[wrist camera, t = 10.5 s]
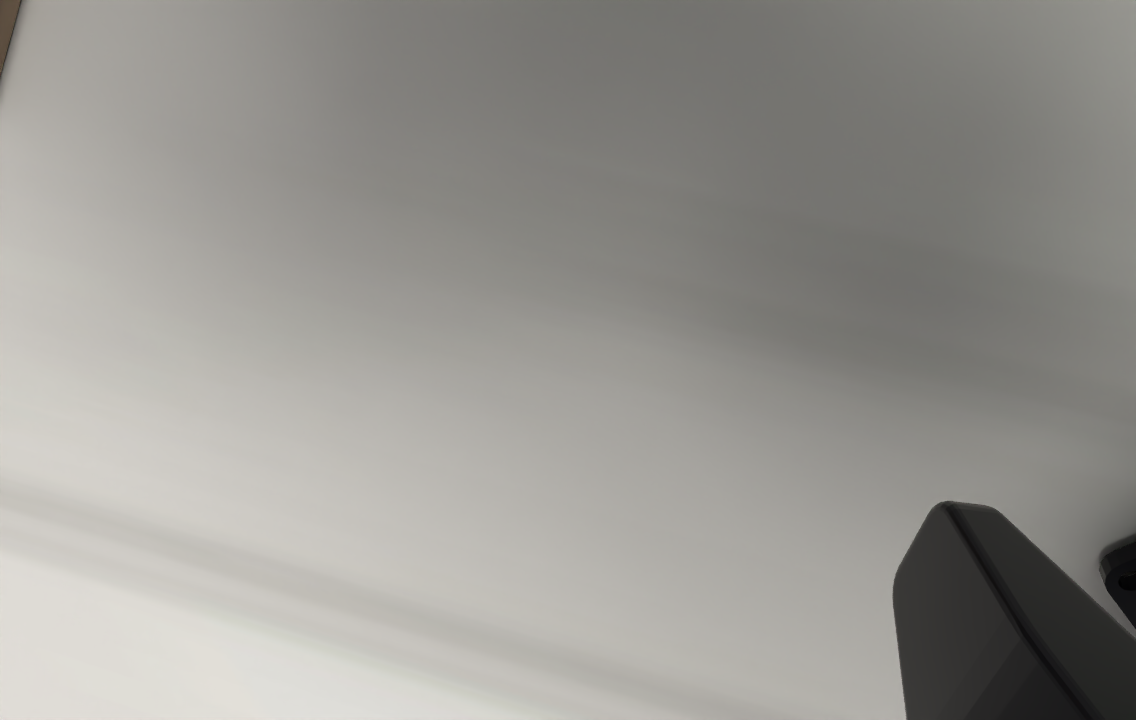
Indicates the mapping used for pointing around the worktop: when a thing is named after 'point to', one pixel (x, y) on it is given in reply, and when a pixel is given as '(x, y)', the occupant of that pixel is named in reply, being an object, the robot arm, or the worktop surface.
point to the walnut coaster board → (6, 25)
